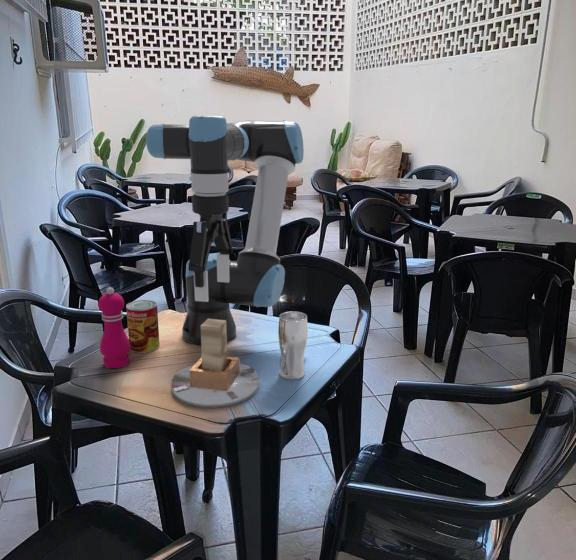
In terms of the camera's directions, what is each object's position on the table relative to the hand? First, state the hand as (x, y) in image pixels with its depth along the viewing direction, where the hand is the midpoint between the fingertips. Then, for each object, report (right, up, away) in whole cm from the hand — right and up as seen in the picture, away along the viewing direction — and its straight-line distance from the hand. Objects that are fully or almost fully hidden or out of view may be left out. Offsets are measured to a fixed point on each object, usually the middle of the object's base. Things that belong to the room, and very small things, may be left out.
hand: (213, 290), depth 115 cm
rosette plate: (0, -22, +7) cm, 23 cm away
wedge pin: (0, -21, +6) cm, 22 cm away
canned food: (-22, -16, +27) cm, 38 cm away
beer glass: (+17, -21, +13) cm, 30 cm away
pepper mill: (-27, -19, +17) cm, 37 cm away
